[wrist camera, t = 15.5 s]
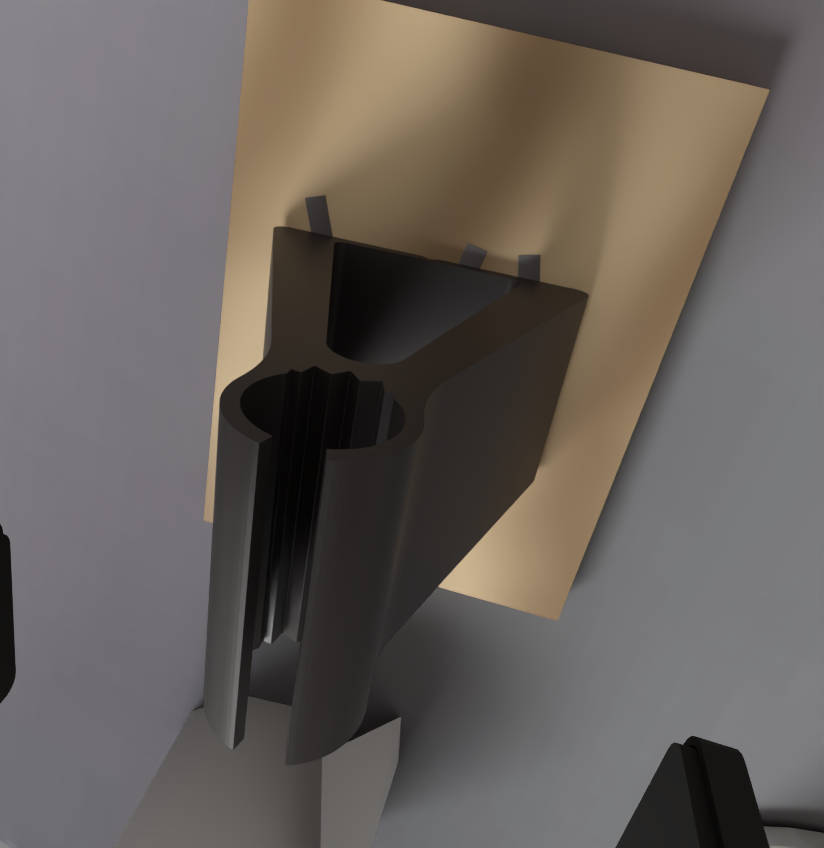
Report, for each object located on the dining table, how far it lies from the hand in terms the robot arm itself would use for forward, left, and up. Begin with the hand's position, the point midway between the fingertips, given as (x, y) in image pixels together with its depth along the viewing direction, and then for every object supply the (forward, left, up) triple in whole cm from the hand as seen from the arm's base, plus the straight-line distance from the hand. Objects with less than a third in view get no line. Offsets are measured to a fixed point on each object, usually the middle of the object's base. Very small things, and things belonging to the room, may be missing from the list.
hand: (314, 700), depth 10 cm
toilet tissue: (+2, +21, -14) cm, 25 cm away
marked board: (+1, -1, -14) cm, 14 cm away
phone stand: (+1, 0, -13) cm, 13 cm away
